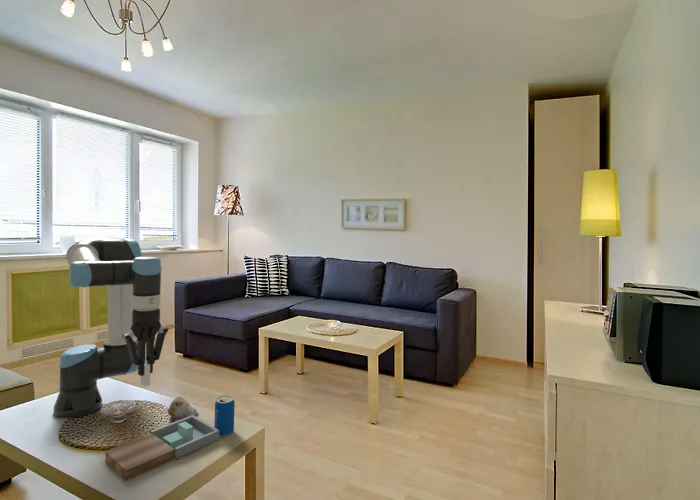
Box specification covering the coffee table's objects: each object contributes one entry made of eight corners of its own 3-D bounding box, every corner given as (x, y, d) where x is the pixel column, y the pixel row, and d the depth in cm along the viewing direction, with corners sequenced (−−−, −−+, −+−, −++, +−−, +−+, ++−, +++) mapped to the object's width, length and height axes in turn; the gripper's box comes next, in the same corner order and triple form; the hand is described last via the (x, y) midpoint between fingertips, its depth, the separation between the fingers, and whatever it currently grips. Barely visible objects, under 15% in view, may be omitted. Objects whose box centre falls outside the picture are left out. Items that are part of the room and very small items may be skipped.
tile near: (162, 444, 128) (162, 437, 128) (177, 438, 132) (177, 431, 132) (170, 450, 125) (170, 442, 125) (185, 444, 129) (185, 436, 129)
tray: (150, 441, 130) (150, 430, 130) (192, 424, 142) (193, 414, 142) (176, 460, 121) (176, 449, 121) (219, 440, 133) (219, 430, 132)
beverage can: (210, 432, 137) (211, 398, 137) (227, 426, 142) (228, 393, 142) (220, 439, 133) (221, 405, 132) (237, 433, 138) (238, 399, 137)
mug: (192, 424, 143) (177, 401, 142) (174, 430, 147) (160, 407, 145) (205, 410, 150) (191, 388, 149) (187, 416, 154) (174, 395, 152)
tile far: (177, 424, 131) (184, 421, 133) (177, 438, 132) (184, 435, 134) (186, 429, 128) (193, 426, 130) (185, 444, 129) (192, 441, 131)
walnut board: (105, 461, 119) (105, 451, 119) (152, 442, 130) (152, 433, 130) (126, 480, 110) (126, 470, 110) (174, 458, 121) (174, 449, 121)
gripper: (129, 313, 112) (128, 395, 113) (173, 307, 122) (172, 381, 124) (117, 309, 116) (116, 387, 118) (161, 303, 127) (160, 375, 128)
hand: (145, 384), depth 121 cm, fingers closed
